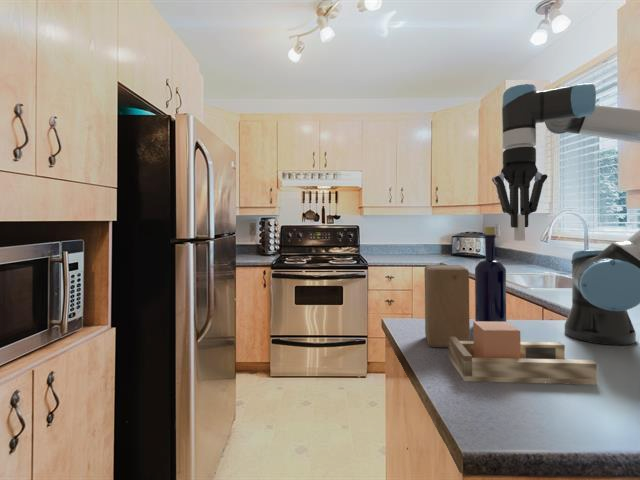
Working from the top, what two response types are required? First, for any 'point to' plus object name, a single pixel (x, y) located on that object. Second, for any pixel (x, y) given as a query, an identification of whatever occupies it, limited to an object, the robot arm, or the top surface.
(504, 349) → the terracotta block
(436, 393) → the top surface
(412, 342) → the top surface
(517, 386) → the top surface
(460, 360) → the wooden tray
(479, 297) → the bottle
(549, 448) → the top surface
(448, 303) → the wooden block
